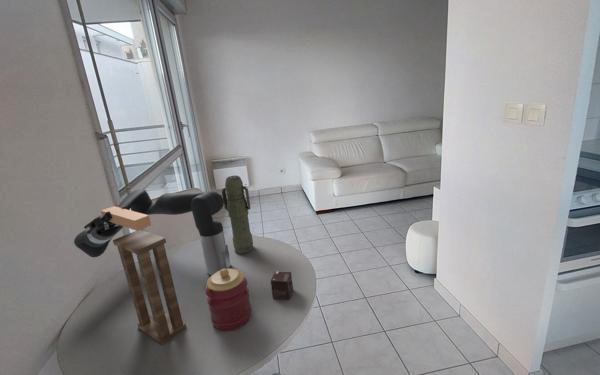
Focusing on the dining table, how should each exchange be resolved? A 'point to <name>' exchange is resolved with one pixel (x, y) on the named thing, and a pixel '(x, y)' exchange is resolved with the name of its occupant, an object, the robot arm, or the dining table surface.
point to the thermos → (238, 213)
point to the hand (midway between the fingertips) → (117, 211)
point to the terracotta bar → (128, 218)
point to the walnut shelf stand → (150, 284)
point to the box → (282, 285)
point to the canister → (228, 299)
